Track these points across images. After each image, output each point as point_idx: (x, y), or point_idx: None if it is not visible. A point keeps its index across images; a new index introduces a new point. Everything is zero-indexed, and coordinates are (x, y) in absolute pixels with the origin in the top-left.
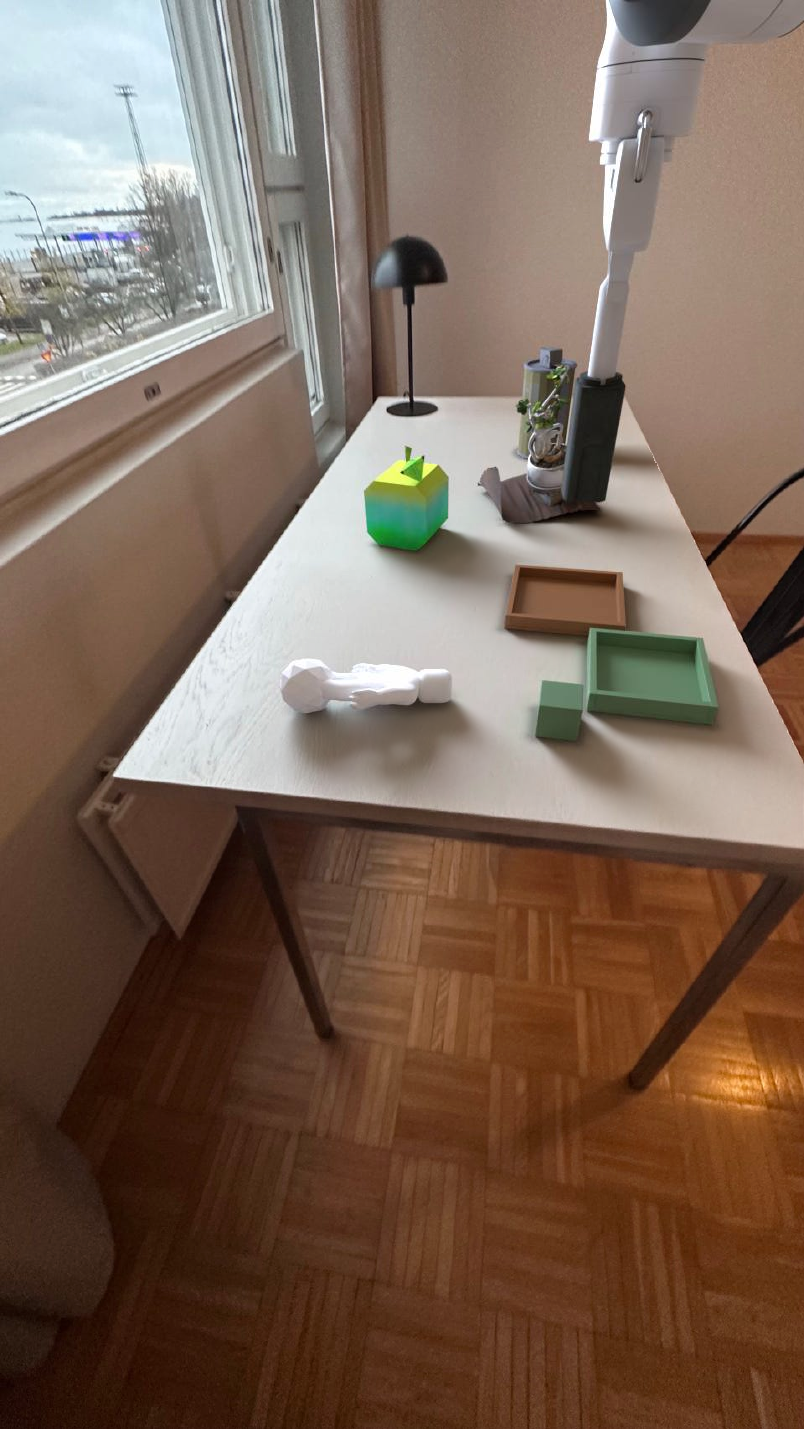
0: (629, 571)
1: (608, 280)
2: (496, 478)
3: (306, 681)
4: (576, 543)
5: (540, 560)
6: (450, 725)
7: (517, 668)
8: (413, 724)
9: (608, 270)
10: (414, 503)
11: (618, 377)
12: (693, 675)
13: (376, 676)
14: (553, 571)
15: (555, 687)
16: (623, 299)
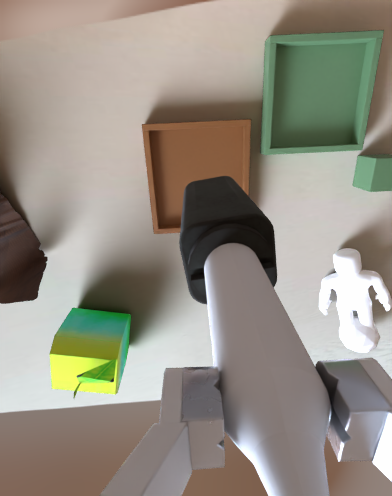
0: (110, 113)
1: (349, 459)
2: (29, 289)
3: (378, 338)
4: (62, 176)
5: (114, 209)
6: (368, 241)
7: (300, 207)
8: (366, 263)
9: (185, 486)
10: (121, 347)
11: (249, 235)
12: (308, 49)
13: (351, 300)
14: (155, 196)
15: (379, 180)
16: (373, 360)
